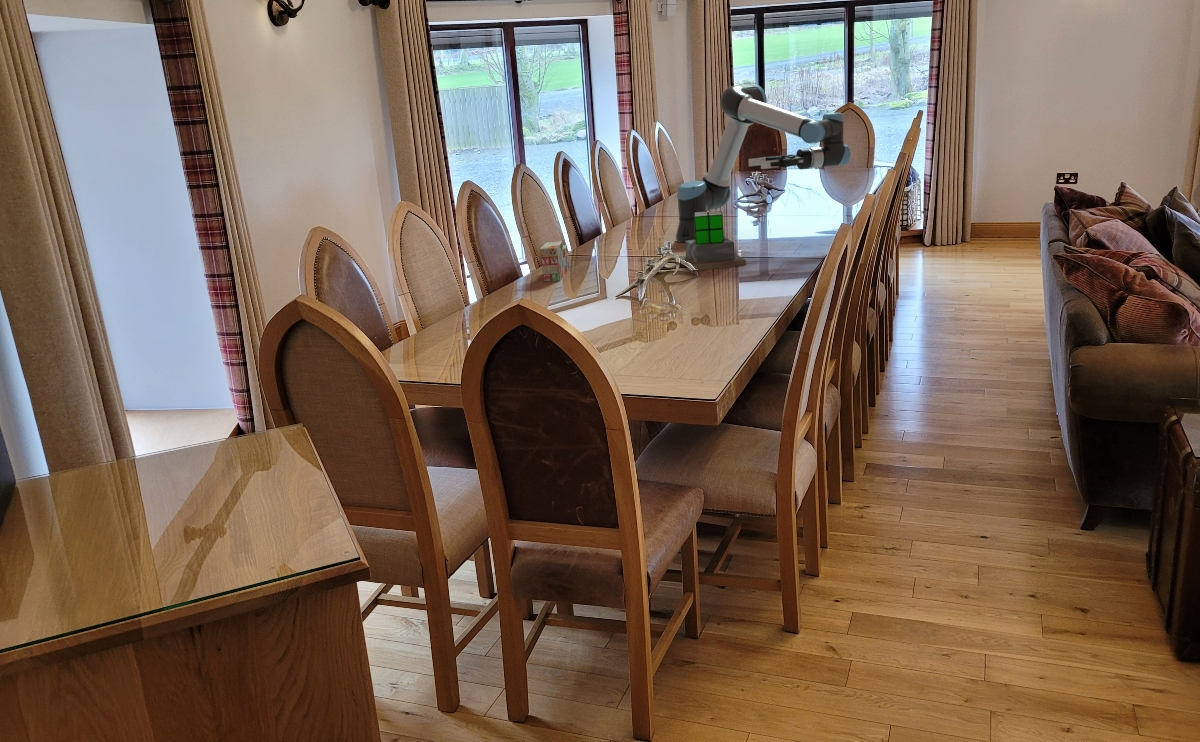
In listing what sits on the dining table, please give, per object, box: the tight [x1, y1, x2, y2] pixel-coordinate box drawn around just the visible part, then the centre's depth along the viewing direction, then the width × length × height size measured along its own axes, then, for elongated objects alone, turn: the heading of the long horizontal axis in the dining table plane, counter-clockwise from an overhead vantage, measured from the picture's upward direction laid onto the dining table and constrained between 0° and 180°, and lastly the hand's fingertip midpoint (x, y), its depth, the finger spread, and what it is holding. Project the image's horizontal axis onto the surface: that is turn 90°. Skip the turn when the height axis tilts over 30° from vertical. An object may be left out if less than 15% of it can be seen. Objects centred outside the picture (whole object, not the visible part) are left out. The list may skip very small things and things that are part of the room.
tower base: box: [678, 237, 747, 271], centre depth 336 cm, size 20×20×8 cm
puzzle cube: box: [694, 210, 725, 244], centre depth 333 cm, size 10×10×10 cm
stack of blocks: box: [539, 240, 570, 282], centre depth 338 cm, size 21×6×12 cm, turn 173°
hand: (754, 164), depth 346 cm, fingers open, 13 cm apart
